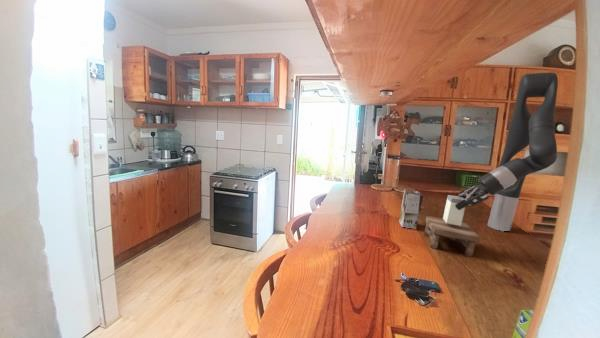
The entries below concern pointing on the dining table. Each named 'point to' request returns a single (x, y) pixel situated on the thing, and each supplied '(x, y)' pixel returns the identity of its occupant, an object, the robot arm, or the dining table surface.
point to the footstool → (450, 233)
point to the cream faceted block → (453, 210)
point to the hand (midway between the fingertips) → (454, 205)
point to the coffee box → (410, 208)
